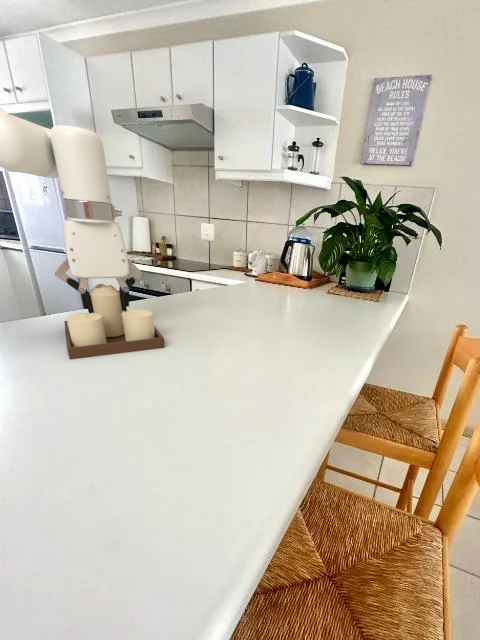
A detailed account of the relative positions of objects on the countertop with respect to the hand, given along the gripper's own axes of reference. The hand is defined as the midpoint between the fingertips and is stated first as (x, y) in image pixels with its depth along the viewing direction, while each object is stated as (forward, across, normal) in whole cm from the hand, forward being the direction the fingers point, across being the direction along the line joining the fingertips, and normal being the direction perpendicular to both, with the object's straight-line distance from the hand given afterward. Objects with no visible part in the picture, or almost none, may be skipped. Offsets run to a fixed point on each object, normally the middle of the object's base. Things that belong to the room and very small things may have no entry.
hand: (107, 310), depth 67 cm
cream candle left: (+5, +4, +7) cm, 10 cm away
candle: (+5, 0, 0) cm, 5 cm away
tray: (+6, 0, +3) cm, 7 cm away
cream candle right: (+5, -5, +7) cm, 10 cm away
